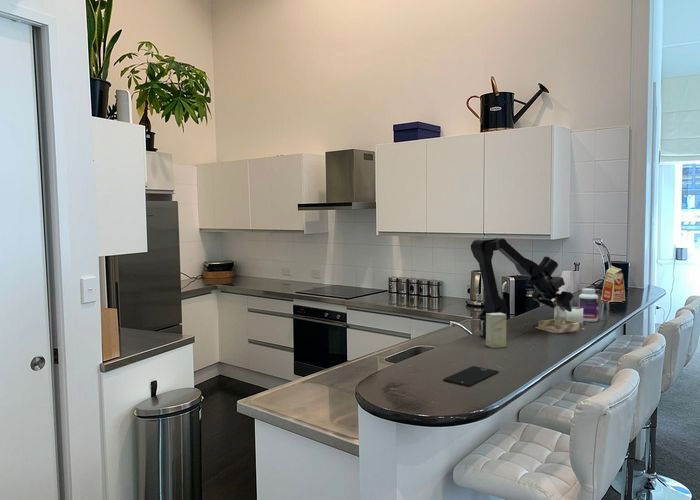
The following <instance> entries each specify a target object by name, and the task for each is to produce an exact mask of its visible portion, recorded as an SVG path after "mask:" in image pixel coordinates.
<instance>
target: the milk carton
mask: <svg viewBox="0 0 700 500" xmlns="http://www.w3.org/2000/svg"><path fill="white" fill-rule="evenodd" d="M605 272H606V273H605V277H604V282H603V286H602V291H601V297H600V301H601V300H604V301H608V302H607V303H609V302H622V301H625V302H626V291H625V279H624V273H623V272H622V268H618V267H616V266H613V265H610V268H608V269H607V270H606V271H605ZM622 303H623V302H622Z"/></svg>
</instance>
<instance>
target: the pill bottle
mask: <svg viewBox="0 0 700 500" xmlns="http://www.w3.org/2000/svg"><path fill="white" fill-rule="evenodd" d="M578 307H581V308H583V322H589V323H591V322H594V323H595V322H597V321H598V320H599V295H597V294H596V289H595V288H589V287H588V288H586V287H585V288H581V293H580V294H579V296H578Z"/></svg>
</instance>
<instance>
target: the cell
mask: <svg viewBox="0 0 700 500" xmlns="http://www.w3.org/2000/svg"><path fill="white" fill-rule="evenodd" d="M553 300H554V302H553V304H554V311H553V312H554V314H553V315H554V316H553V319H554V328H556V325H563V324H566V310H565V309H563V308H561V307H560V306H559V305H558V304H557V303H556V299H553Z"/></svg>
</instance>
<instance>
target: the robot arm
mask: <svg viewBox="0 0 700 500" xmlns="http://www.w3.org/2000/svg"><path fill="white" fill-rule="evenodd" d="M470 251H471V253H472V255H473V257H474V260H476V262H478V266H479V271H480V275H481V280H482V284H483V288H484V293H485V300H484V303H483V304H484V305H483V307H484V309H483V310H482V311H481V313H480V314H479V315H478V318H479V320H480V322H481V321H482V334H480V335H479V336H480V337H481V338H484V339H486V313H503V314H506V315H507V313H508V311H507V310H508V306H507V300H506V299H505V298H504V297H503V298H502V297H501V296H500V294H499V290H498V287H497V280H496V277H495V272H494V267H493V262H492V260H493V256H494V252H496V251H499V252H500V253H501V255H503V256H504V257H505V258H507V259H508V260H509V261H510V262H511V263H512V264H514V266H515V269H516V270H517V272H518V273H519V274H520V275H521V276H525V277H529V278H527V279H526V281H525V282H526V283H525V286H529V287H534V288H535V290H534V291H533V293H532V294H531V299H532V300H533V301H534V302H537V303H539V304H542V305H545V306H546V307H549V308H551V309H554V302H553V300H555V299H556V303H557V304H558V305H559V306H560V307H561V308H563V309H565V310H567V311H569V312H571V311H572V309H571V307H572V306H571V301H572V299H573V298H574V297H575V296H574V294H573V293H572V292H571V291H565V290H563V291H561V292H560V293H559V291H560V288H562V287H563V286H565V285H566V284H565V281H564V277H561V276H552V275H553V274H554V272H555V271H556V270H557V269H558V266H559V264H558V262H557V261H556V260H554V259H552V258H550V257H549V256H544V257H542V260H541V261H540V263H537V262H535V261H533V260H531V259H529V258H526V257H525V256H523V255H522V253H520V252H519V251H518V250H517V249H515V247H513V246H512V245H511V244H510V243H509V242H508V241H507V240H506V239H505V238H501V237H499V238H498V237H496V238H492V239H474V240H473V241H472V242H471V244H470ZM552 299H553V300H552Z"/></svg>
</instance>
